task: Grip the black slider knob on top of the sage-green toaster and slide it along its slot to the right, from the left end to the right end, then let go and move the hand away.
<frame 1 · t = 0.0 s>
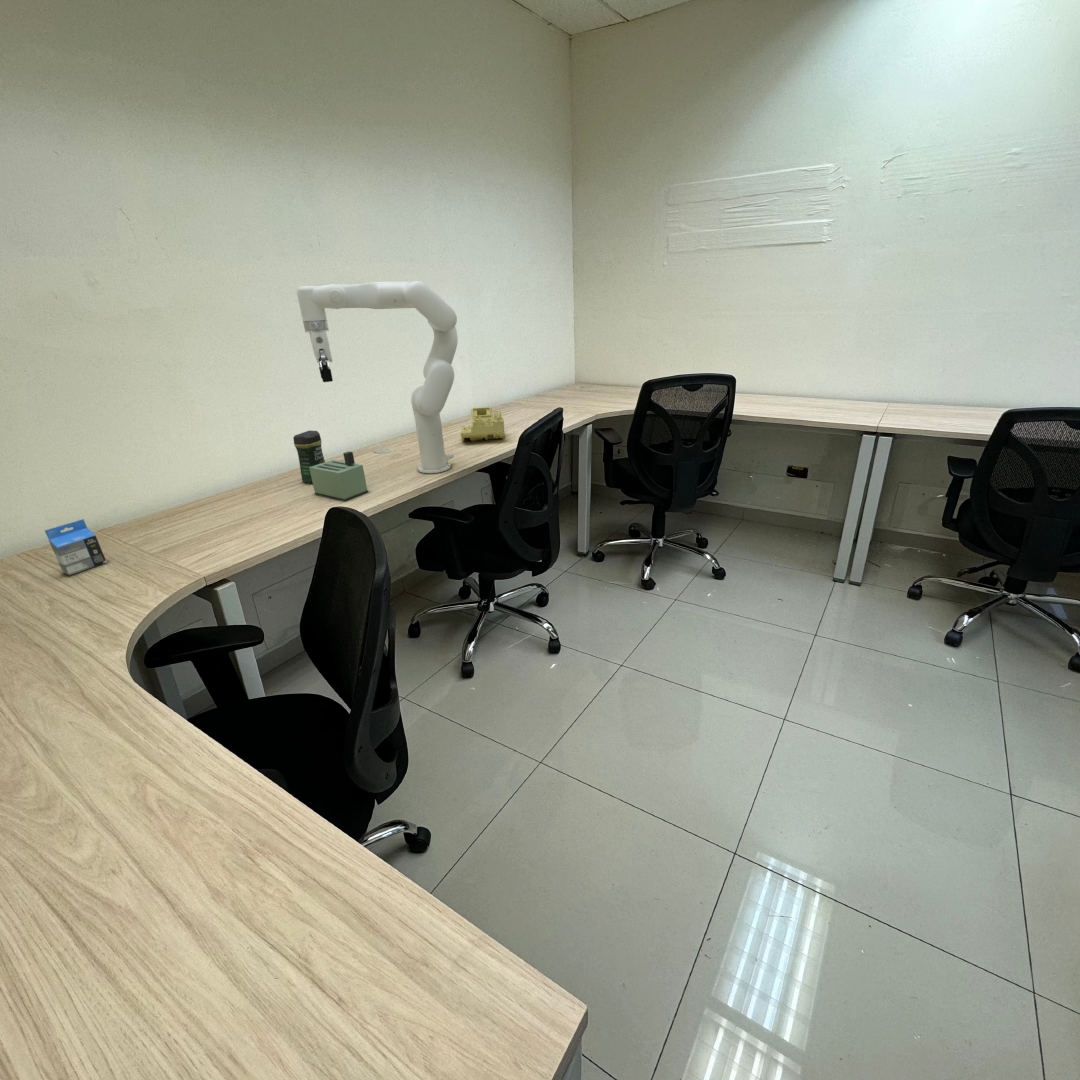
hand: (327, 379, 190), 37 cm above the table, tool pointing down, fingers open, 9 cm apart
toaster: (341, 493, 194), on the table
slider: (349, 458, 190), point 12 cm above the table, slide at 0.0 cm
coffee jar: (316, 480, 210), on the table
tape cartridge: (85, 568, 148), on the table
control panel: (483, 438, 257), on the table
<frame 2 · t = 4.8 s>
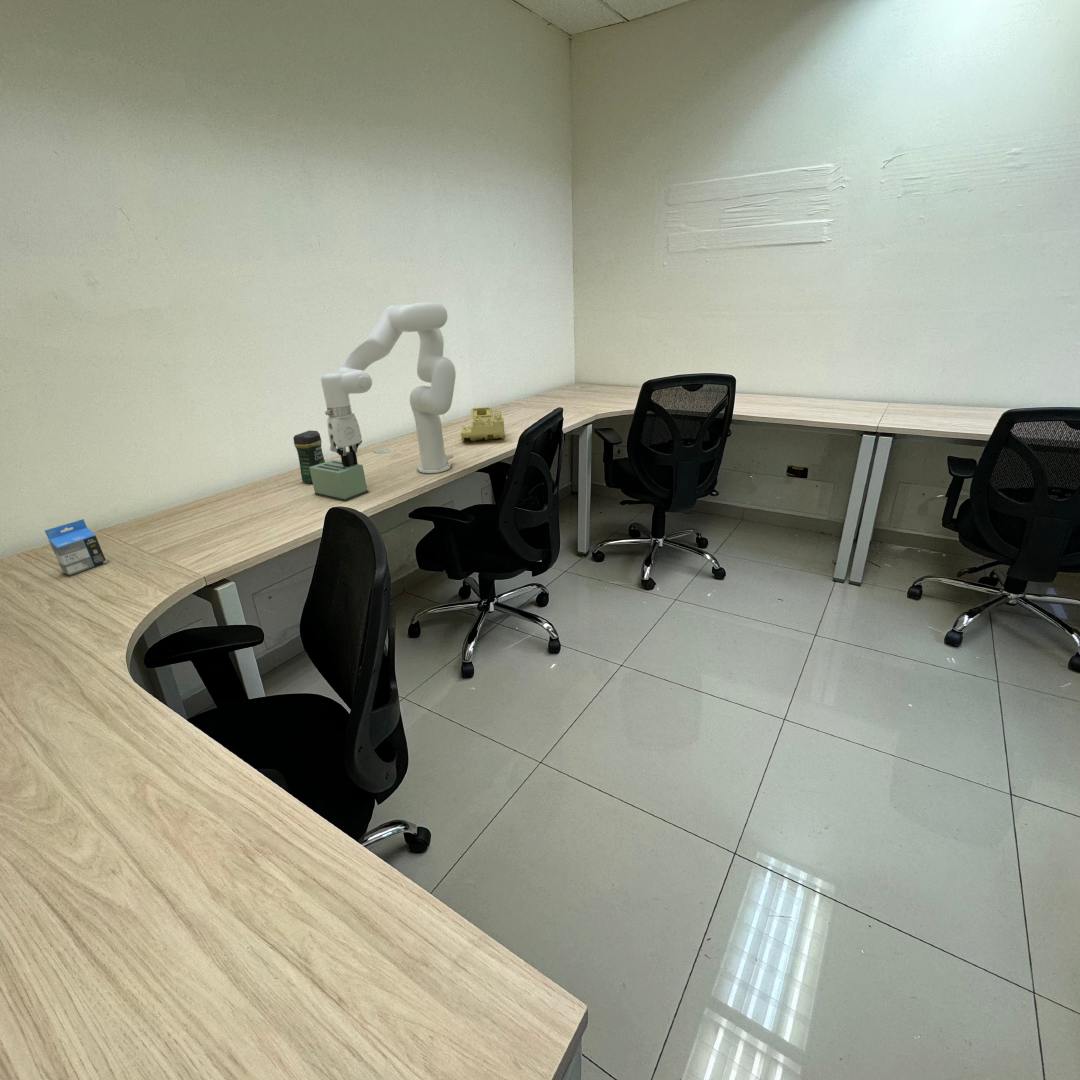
hand: (350, 464, 190), 10 cm above the table, tool pointing down, fingers closed on slider, 2 cm apart
slider: (349, 458, 190), point 12 cm above the table, slide at 0.0 cm, touching gripper
everything else where it was.
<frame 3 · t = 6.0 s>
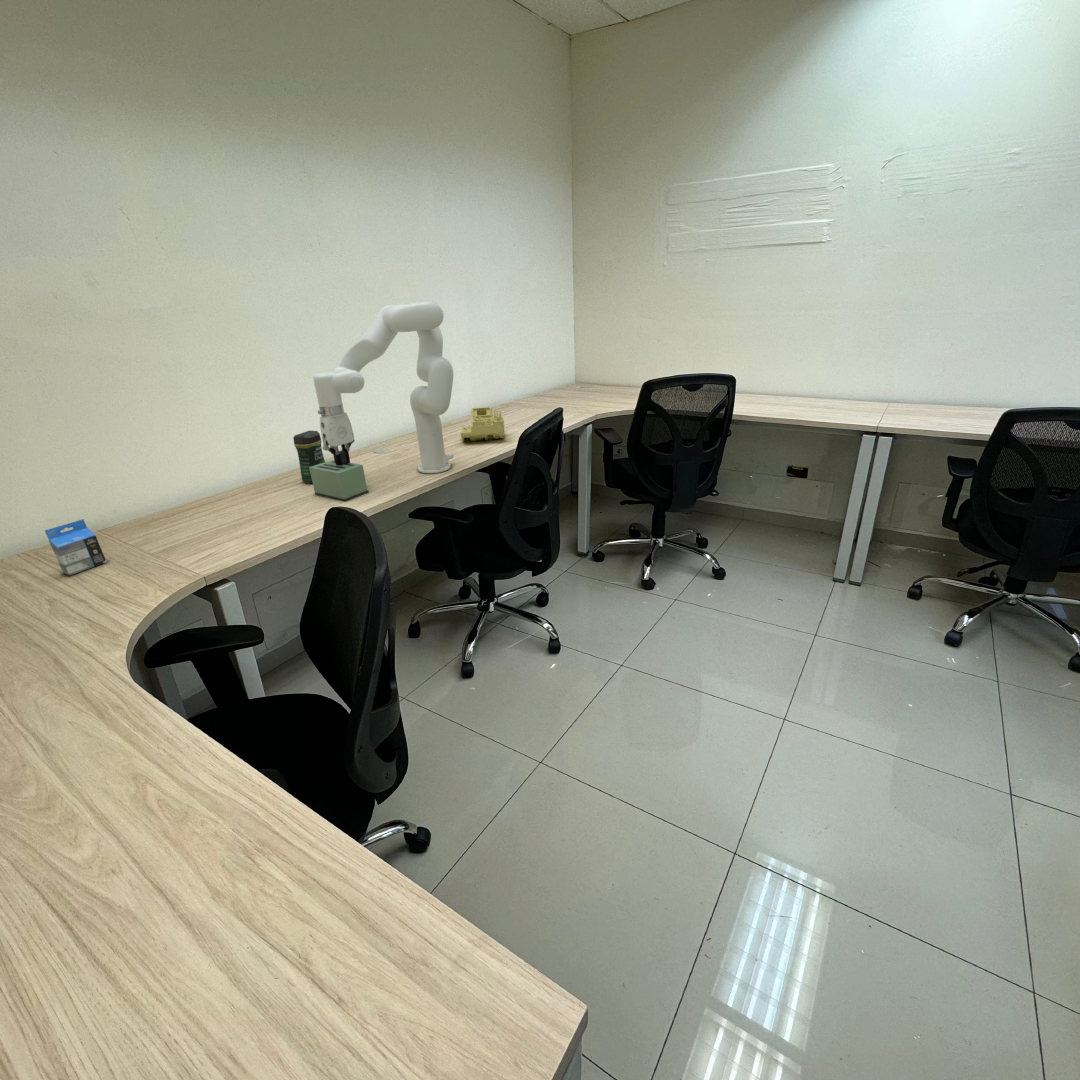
hand: (342, 463, 192), 10 cm above the table, tool pointing down, fingers closed on slider, 2 cm apart
slider: (341, 457, 191), point 12 cm above the table, slide at 3.9 cm, touching gripper
everything else where it was.
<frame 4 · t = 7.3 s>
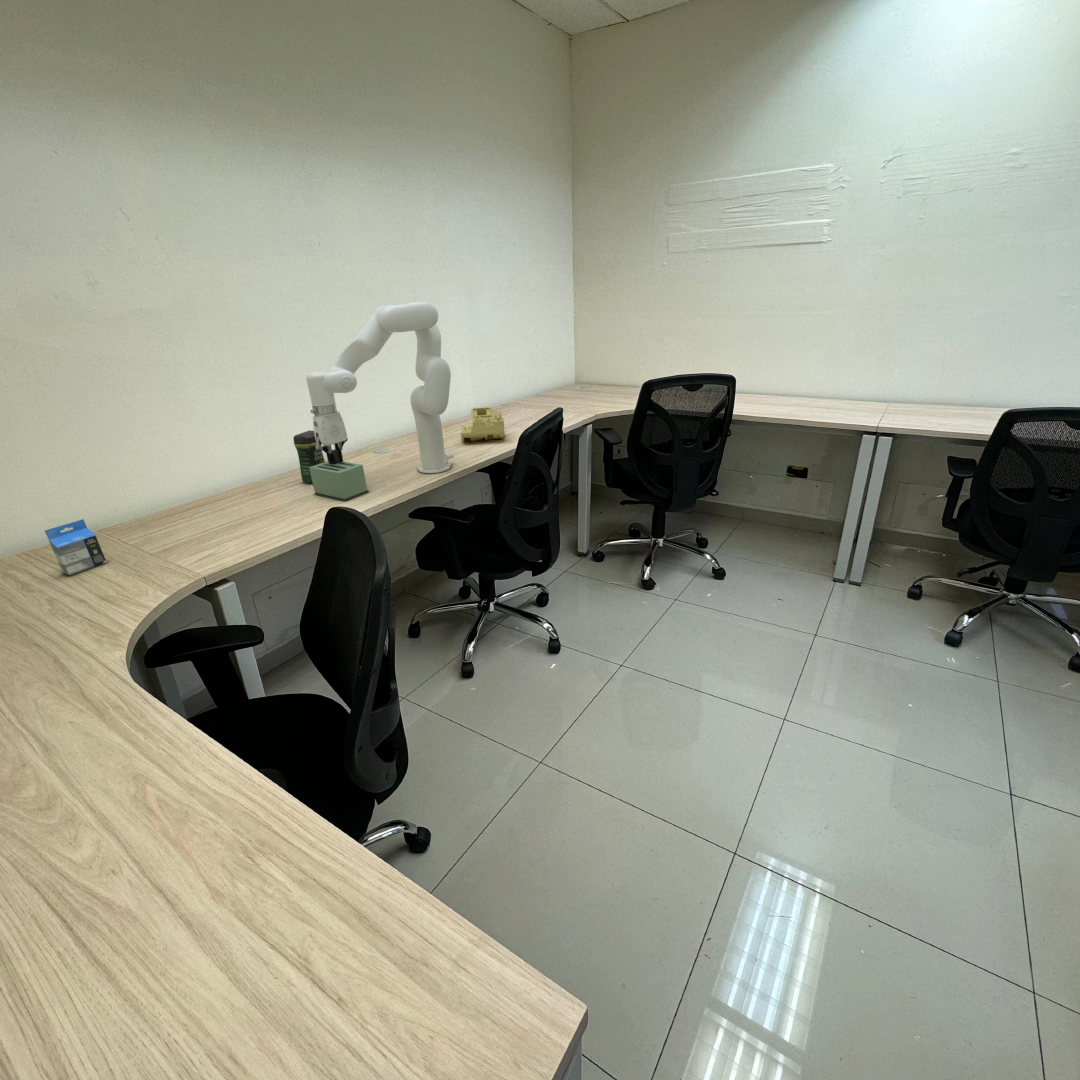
hand: (336, 462, 194), 10 cm above the table, tool pointing down, fingers closed on slider, 2 cm apart
slider: (334, 455, 193), point 12 cm above the table, slide at 7.6 cm, touching gripper
everything else where it was.
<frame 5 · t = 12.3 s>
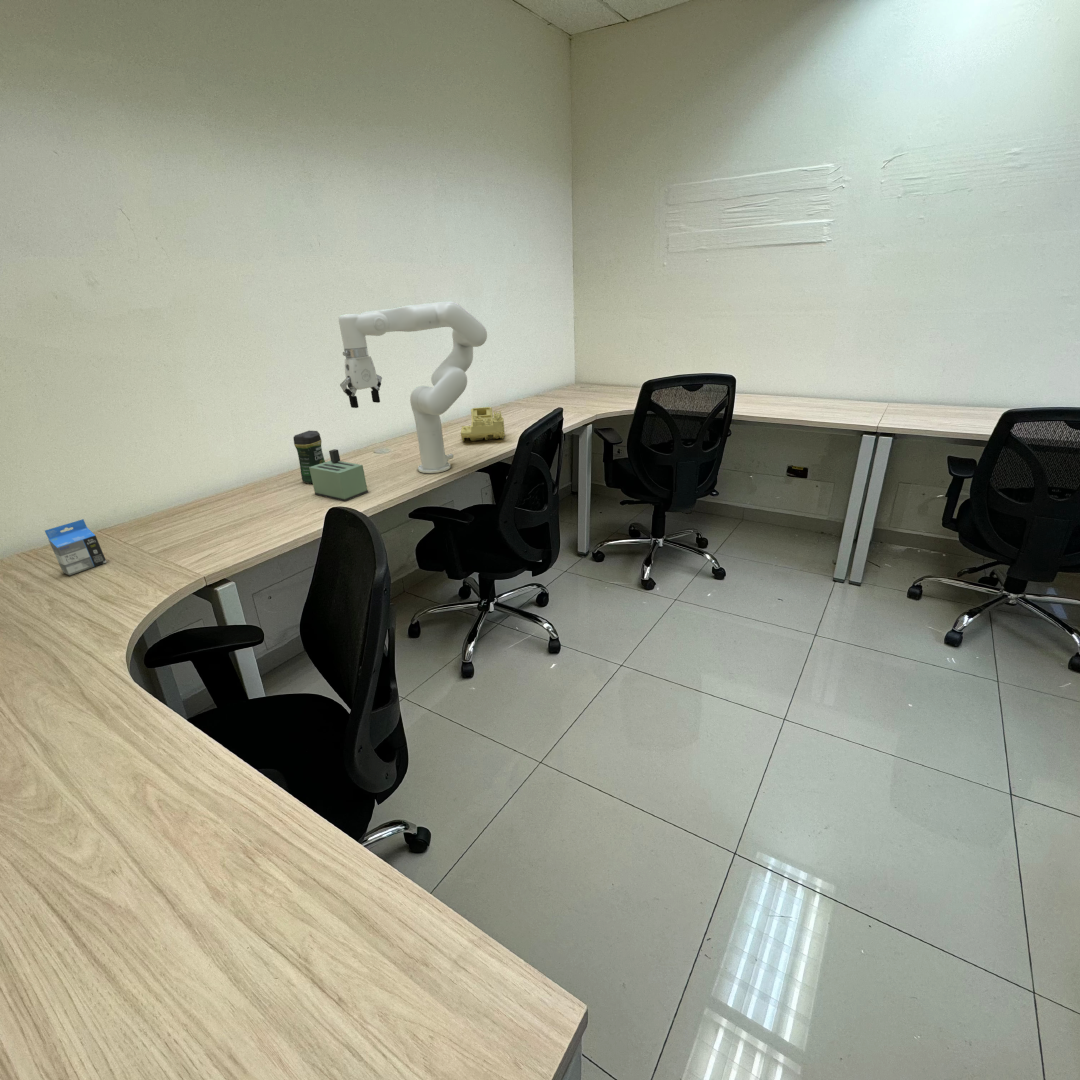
hand: (365, 404, 192), 28 cm above the table, tool pointing down, fingers open, 9 cm apart
slider: (334, 455, 193), point 12 cm above the table, slide at 7.6 cm
everything else where it was.
at the end: slider slide at 7.6 cm; the gripper is holding nothing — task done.
